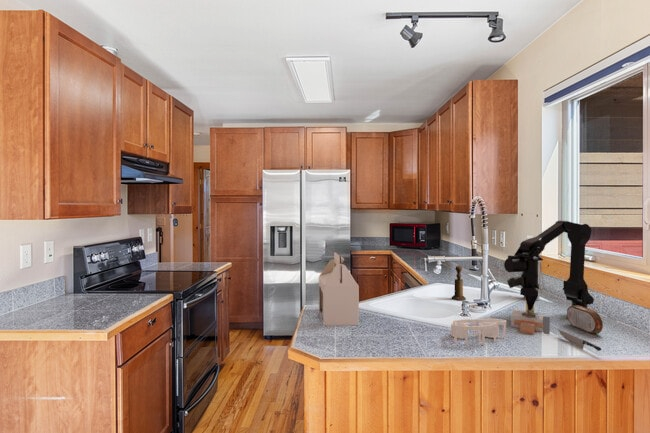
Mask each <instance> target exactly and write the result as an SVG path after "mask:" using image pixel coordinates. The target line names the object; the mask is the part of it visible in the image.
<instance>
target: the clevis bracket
mask: <svg viewBox="0 0 650 433" xmlns="http://www.w3.org/2000/svg"><path fill="white" fill-rule="evenodd" d="M543 316H544V313H540V312H534V313H532V312H526V311H522V310H514V309H513V310H512V313H511V315H510V327H513V328H519V329H520V330H519V333H521V334H528V335H535V333H536V331H537V332H543Z"/></svg>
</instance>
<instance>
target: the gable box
mask: <svg viewBox="0 0 650 433" xmlns="http://www.w3.org/2000/svg"><path fill="white" fill-rule="evenodd" d="M333 255H334V256H333V257H332V258H331V259H330V260H329V261H328V263H326V265H325V267H324V268H323V270H322V272H321V273H320V275H319V276H318V311H319V314H320V317H321V321H322V323H323V326H359V325H360V324H359V322H360V321H359V320H360V312H359V311H360V306H359V305H360V302H359V301H360V298H359V297H360V296H359V295H360V294H359V293H360V292H359V291H360V289H359V288H360V286H359V284H358V283H357V281H356V279H355V278H354V277H353V275H352V274H351V272H350V270H349V269H348V267H347V266H346V265H345V264H344V263H345V260H346V259H345V258H344V257H343V256H342V255H340V254H339V253H338V252H336V251H335V252H334V253H333ZM321 310H322V312H321Z"/></svg>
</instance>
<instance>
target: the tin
mask: <svg viewBox="0 0 650 433" xmlns="http://www.w3.org/2000/svg"><path fill="white" fill-rule="evenodd" d="M566 312H567V314H566V316H567V320H568V322H569V323H570V325H571V326H573V327H574V328H577V329H579V330H581V331H584V332H586V333H589V334H600V333H601V332H602V330H603V326H604V323H603V319H602V318H601V315H600V314H599V313H598V312H597V311H595V310H593V309H590V308H589V307H588V308H585V307H582V306H579V305H576V306H572V305H570V306H569V307H568V308H567V310H566Z"/></svg>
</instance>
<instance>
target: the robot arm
mask: <svg viewBox="0 0 650 433" xmlns="http://www.w3.org/2000/svg"><path fill="white" fill-rule="evenodd" d="M563 233H566V234H567V239H568V241H569V242H570V259H569V260H570V263H569V277H568V278H567V280H563V283H562V284H563V285H562V286H563V288H562V290H563V293H564V295H565V298H566V301H571V306H576V305H579V306H582V307H585V308H588V309H589V305H592V304H593V305H594V301H595V298H594V297H593V296H592V295H591V294H590V293H589V290H588V289H589V288H588V284H587V282H586V281H585V276H584V275H585V259H586V258H585V257H586V245H587V244H588V242H589V241H590V239H591V236H592V227H591V226H590V225H589V224H587V223H576V222H572V221H569V220H557V221H556V222H555V223H553V224H552V225H551V226H549V227H548V228H546V229H545V230H543V231H542V232H541V233H539V234H538V235H537V236H534V237H530V238H527V239H525V240H522V242H520V244H519V247H518V248H517V250H516V252H515V253H514V254H513V255H507V258H506V259H505V260H504V263H503V266H504V269H505V271H506V272H507V273H521V275H520V276H516V277H510V278H508V279H507V285H508V287H509V289H512V288H516V287H519V286H521V288H520V294H519V295H521V296H523V298H524V297H525V298H526V299H525V303H526V302H527V306H528V310H532V308H533V305H534V306H535V303H536V299H537V297H538V293H539V294H540V291H538V289H539V284H538V261H542V262H543V260H544V259H543V258H542V256H541V255H540V256H539V254H541V253H542V252H543V251H544V250H545V247H546V246H547V245H548V244H549V243H551V242H552V241H553V240H555V239H557V238H558V237H560V235H562V234H563Z"/></svg>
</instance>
